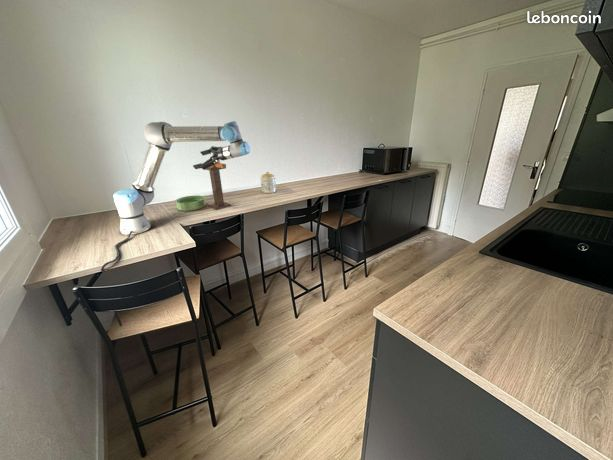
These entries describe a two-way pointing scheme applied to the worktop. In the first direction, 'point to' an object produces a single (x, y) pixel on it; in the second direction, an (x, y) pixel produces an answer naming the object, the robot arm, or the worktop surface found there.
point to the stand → (217, 189)
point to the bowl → (190, 203)
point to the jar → (268, 183)
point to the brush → (219, 165)
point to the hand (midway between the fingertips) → (198, 160)
